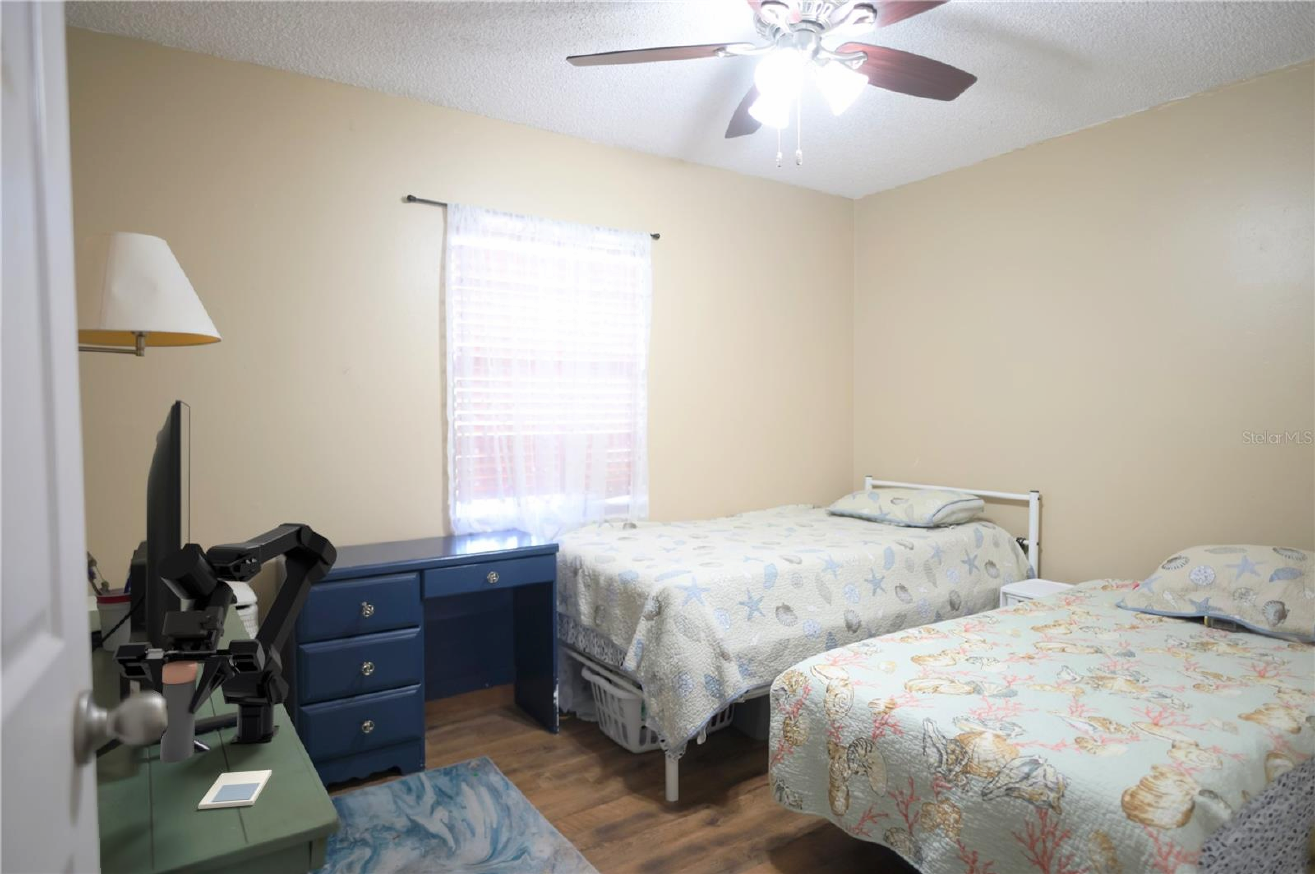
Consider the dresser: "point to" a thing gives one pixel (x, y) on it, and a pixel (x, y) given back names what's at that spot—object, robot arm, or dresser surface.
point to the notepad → (235, 789)
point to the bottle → (179, 710)
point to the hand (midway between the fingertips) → (174, 713)
